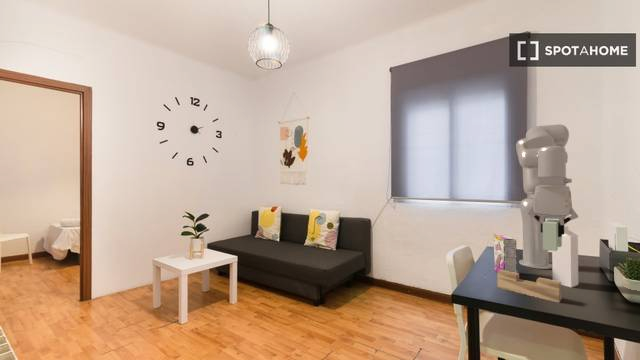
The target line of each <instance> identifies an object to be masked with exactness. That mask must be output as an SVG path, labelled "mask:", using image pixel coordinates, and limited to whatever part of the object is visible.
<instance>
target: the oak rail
mask: <svg viewBox="0 0 640 360" xmlns="http://www.w3.org/2000/svg"><path fill="white" fill-rule="evenodd" d="M496 274H497V277H496V278H497V284H496V285H497V289H500V290H505V291H508V290H509V292H513V291H514V293H517V294H522V295H525V294H526V295H527V296H530V297H533V296H534V298H537V297H538V299H542V300H545V301H546V300H547V301H551V302H555V303H560V302H561V301H562V285H561V282H560V281H555V280H553V279H549V278H545V277H538V278H536V281H532V280H527V279H526V280H525V279H521V278H520V273H519V272H517V273H514V272H509V271H504V270H499V271H498V272H496ZM526 295H525V296H526Z"/></svg>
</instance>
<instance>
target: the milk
mask: <svg viewBox="0 0 640 360" xmlns="http://www.w3.org/2000/svg"><path fill="white" fill-rule="evenodd" d="M551 252H552V253H551V255H552V259H551V260H552V261H551V262H552V263H551V264H552V268H551V269H552V280H555V281H560V282H561V286H564V287H568V288H574V287H576V286H578V285H579V239H578V235H577V234H576V233H574V232H573V231H571V230H569V226H568V225H566V226H564V235H563V234H562V246H561V247H558V250H557V251H551Z"/></svg>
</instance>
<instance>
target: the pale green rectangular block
mask: <svg viewBox="0 0 640 360" xmlns="http://www.w3.org/2000/svg"><path fill="white" fill-rule="evenodd" d="M559 223H560V222H559V219H546V220H545V222H543V250H548V251H551V252H552V251H557V250H558V247H561V246H562V237H558V225H559Z"/></svg>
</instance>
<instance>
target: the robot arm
mask: <svg viewBox="0 0 640 360" xmlns="http://www.w3.org/2000/svg"><path fill="white" fill-rule="evenodd" d="M569 138H570V133H569V129H568V128H567V126H565V125H564V124H561V123H559V124H548V125H537V126H533V127H531V128H529V129H528V130H527V131H526V133H525V137H524V138H520V139H519V140H517V141H516V144H515V147H516V148H515V150H516V154H517V158H518V163H519V165H520V167H521V168H522V187H523V191H524V193H525V194H526V195H529V196H533V197H527V198H524V199H522V200H521V202H520V204H519V209H520V213H521V218H522V220H521V221H522V259H519V261H518V262H519V264H520V265H521V266H524V267H527V268H532V269H538V270H540V269H541V270H549V269H550V270H551V269H552V263H550V262H549V250H543V222H545V221H546V220H549V219H551V220H559V222H560V223H559V225H558V237H562V234H563V235H564V227H565V225H566V224H567V223H568V222H570V221H572V220H576V219H577V218H579V215H578V213H577V212H576V211H575V210H574V208H573V202H572V201H573V200H572V193H571V188H570V186H569V185H567V184H569V183H570V184H571V183H572V181H573V180H572V178H567V169H566V168H567V166H566V165H567V163H568V159H569V157H568V153H567V151H566V145H567V143H568V142H569Z"/></svg>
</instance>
